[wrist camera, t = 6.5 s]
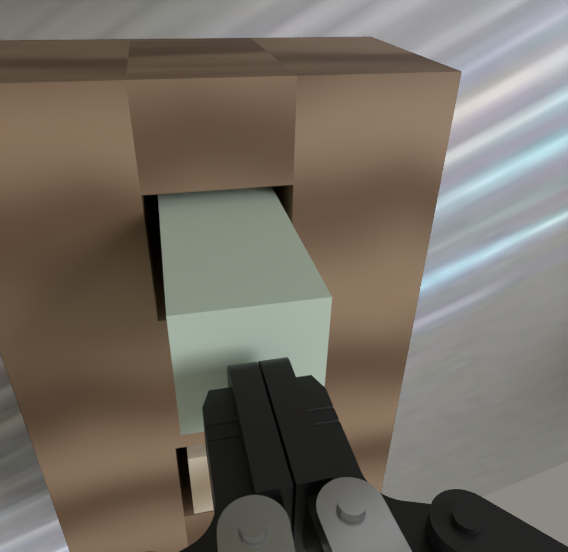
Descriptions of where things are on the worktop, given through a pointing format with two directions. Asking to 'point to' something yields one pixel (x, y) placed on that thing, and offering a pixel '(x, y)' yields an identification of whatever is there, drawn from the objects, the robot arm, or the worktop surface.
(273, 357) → the sage peg
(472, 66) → the worktop surface
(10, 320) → the walnut block
